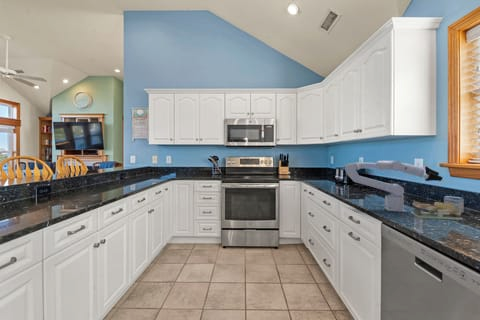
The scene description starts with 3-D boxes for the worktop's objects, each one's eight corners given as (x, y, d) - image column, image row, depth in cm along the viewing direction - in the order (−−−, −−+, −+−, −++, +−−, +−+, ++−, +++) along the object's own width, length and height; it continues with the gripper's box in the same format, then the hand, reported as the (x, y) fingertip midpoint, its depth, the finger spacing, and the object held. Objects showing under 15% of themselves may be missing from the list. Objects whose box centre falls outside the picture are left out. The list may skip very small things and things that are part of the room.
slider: (437, 208, 133) (439, 203, 133) (433, 206, 138) (434, 201, 138) (451, 211, 131) (452, 205, 131) (446, 209, 136) (447, 204, 136)
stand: (418, 217, 133) (418, 209, 133) (411, 213, 144) (411, 205, 143) (463, 220, 127) (463, 211, 127) (452, 214, 138) (452, 206, 138)
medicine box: (443, 210, 148) (443, 196, 147) (447, 210, 150) (447, 195, 150) (460, 213, 141) (460, 198, 140) (463, 212, 143) (464, 197, 142)
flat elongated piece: (418, 208, 134) (419, 204, 134) (412, 205, 142) (413, 201, 142) (460, 215, 129) (461, 211, 128) (452, 211, 137) (452, 208, 137)
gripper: (417, 167, 140) (446, 174, 135) (413, 160, 152) (439, 166, 147) (412, 178, 142) (441, 186, 137) (408, 170, 155) (434, 177, 150)
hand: (440, 176), depth 142 cm, fingers open, 7 cm apart
